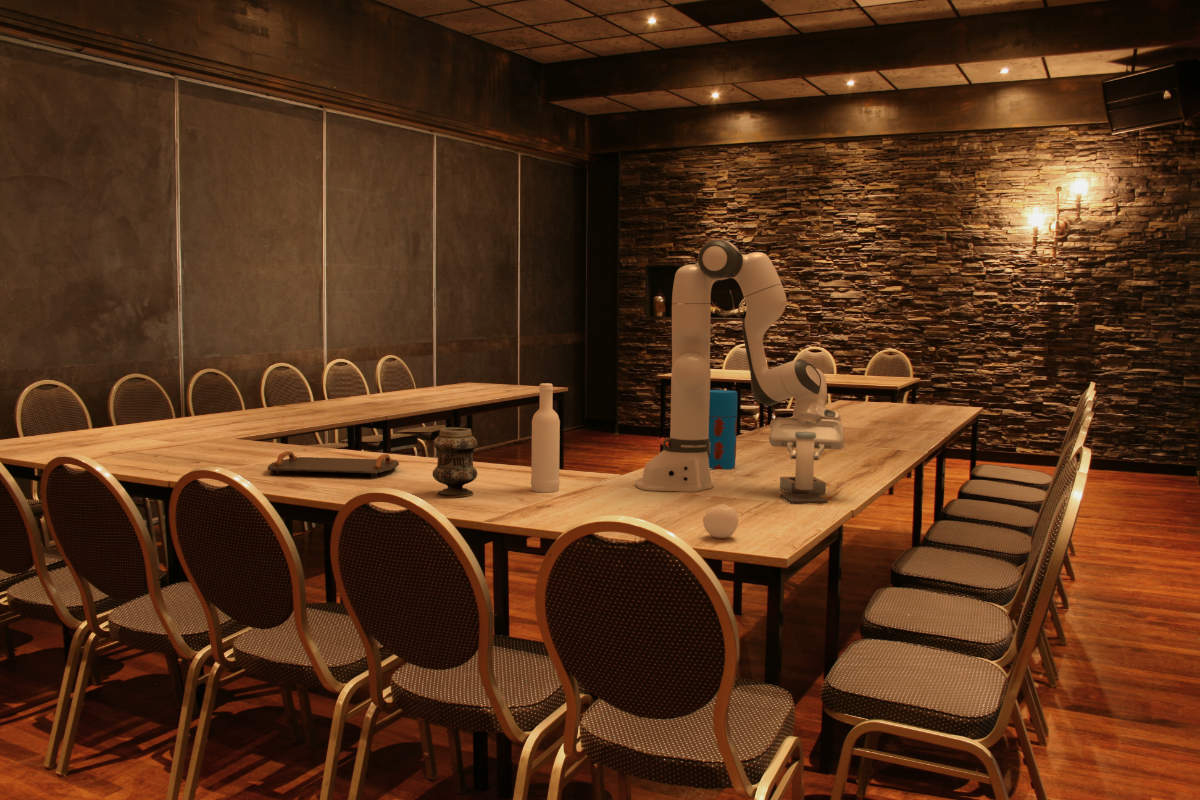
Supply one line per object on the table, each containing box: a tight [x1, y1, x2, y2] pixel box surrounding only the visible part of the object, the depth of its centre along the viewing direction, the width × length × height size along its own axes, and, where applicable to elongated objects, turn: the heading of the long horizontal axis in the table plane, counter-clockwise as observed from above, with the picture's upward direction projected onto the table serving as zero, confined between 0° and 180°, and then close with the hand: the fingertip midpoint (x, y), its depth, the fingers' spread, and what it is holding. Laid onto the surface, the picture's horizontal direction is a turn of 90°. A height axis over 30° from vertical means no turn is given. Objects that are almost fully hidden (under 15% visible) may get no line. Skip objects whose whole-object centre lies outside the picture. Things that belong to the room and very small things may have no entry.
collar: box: [779, 476, 827, 496], centre depth 277 cm, size 10×10×4 cm
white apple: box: [702, 504, 739, 539], centre depth 219 cm, size 8×8×8 cm
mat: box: [779, 493, 828, 505], centre depth 265 cm, size 10×10×1 cm
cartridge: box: [794, 432, 816, 490], centre depth 264 cm, size 5×5×15 cm
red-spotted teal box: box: [708, 389, 738, 470], centre depth 318 cm, size 11×11×25 cm
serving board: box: [267, 450, 400, 480], centre depth 298 cm, size 39×23×6 cm, turn 85°
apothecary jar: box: [432, 427, 478, 498], centre depth 264 cm, size 12×12×18 cm
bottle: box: [530, 382, 561, 494], centre depth 272 cm, size 8×8×30 cm
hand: (804, 458), depth 263 cm, fingers closed on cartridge, 5 cm apart
